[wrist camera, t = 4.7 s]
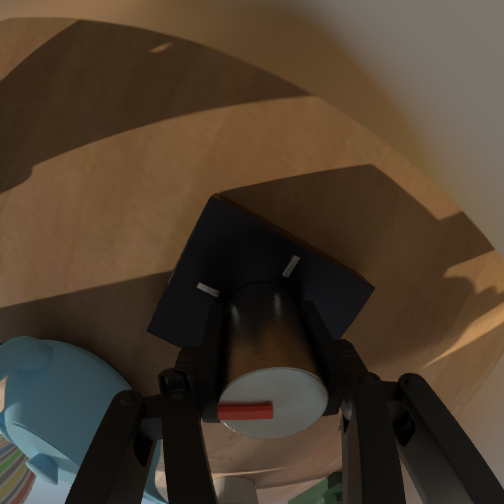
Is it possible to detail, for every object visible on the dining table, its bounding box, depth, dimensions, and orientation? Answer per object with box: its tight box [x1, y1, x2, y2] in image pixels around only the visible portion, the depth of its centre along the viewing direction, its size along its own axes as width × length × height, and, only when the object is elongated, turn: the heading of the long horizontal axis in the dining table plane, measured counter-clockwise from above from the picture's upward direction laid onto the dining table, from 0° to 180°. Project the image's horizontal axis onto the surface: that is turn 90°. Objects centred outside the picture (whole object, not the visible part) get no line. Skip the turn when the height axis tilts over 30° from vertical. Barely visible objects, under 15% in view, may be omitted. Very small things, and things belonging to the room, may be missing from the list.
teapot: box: [0, 336, 169, 504], centre depth 17 cm, size 17×19×12 cm
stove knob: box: [217, 282, 329, 439], centre depth 13 cm, size 4×4×8 cm
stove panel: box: [147, 193, 375, 349], centre depth 19 cm, size 12×10×3 cm
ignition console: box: [288, 472, 342, 504], centre depth 29 cm, size 10×12×4 cm
